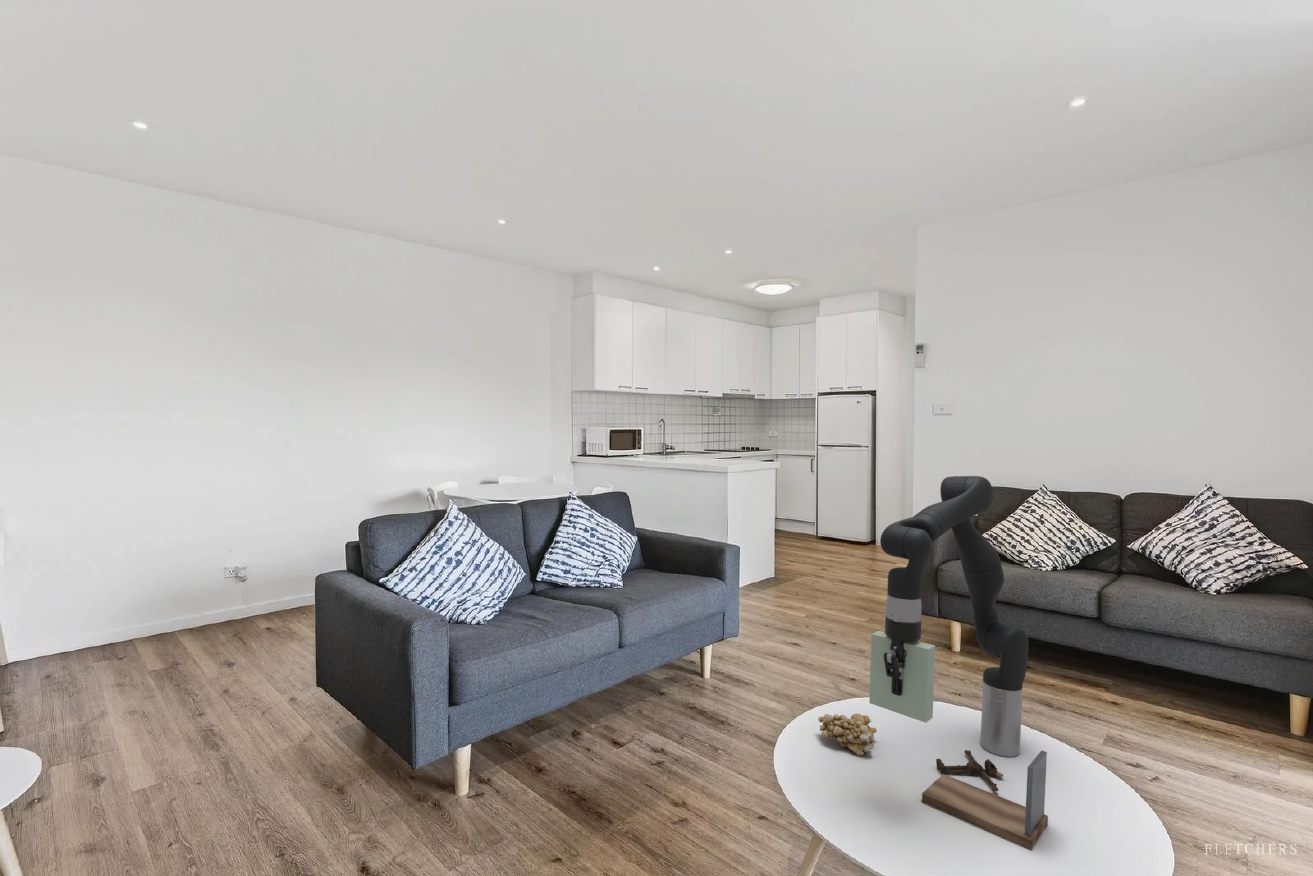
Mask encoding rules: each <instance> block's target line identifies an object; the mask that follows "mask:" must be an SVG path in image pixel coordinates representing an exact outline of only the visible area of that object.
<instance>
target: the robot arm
mask: <svg viewBox="0 0 1313 876" xmlns="http://www.w3.org/2000/svg"><path fill="white" fill-rule="evenodd" d="M939 493H940V499H941V501H939V502H937V503H934V504H931V505H928V506H927V507H925V508H923V509H921V510H920V511H919V512H917V513H916V514H915V515H913V516H911V517H907V518H904V519H901V520H898V521H895V522H893V523H891V524H889V525H888V526H886V527H885V529H884V530H883V532H881V533H882V534H881V535H880V538H879V539H880V542H879V543H880V547H881V550H882V551H883V552H884V553H885V554H886V555H888V556H891V557H894V558H895V557H896V558H901V559H905V560H908V562H907V564H906V566H905V567H904V566H903V567H901V566H900V567H899V566H898V567H894V568H891V569H890V570H889V571H888V573H887V593H886V600H885V616H884V625H885V626H884V632H885V634H886V635H887V636H888V637H889V638H890V639H891V640H892V641H891V645H890V652H889V653H884V662H885V668H886V674H887V676H889V677H892V690H891V692H892V693H893V694H895V695H898V696H901V695H902V689H903V672H904V669H905V668H906V657H907V652H908V650H905V649H904V643H905V642H913V641H919V640H920V639H921V638H922V612H923V611H922V610H923V608H922V606H923V605H922V580H923V575H924V572H925V568H926V565H927V563H928V560H929V557H930V555H931V550H932V544H933V542H935V541H936V540H937V539H939V538H940V537H941V536H942V535H944V534H945V533H946V532H947V531H949V530H950V529H951V531H952V533H953V534H952V535H953V536H954V540H955V544H956V547H957V553H958V555H959V559H960V564H961V569H962V572H963V575H964V579H965V583H966V586H967V590H968V594H969V599H970V603H971V608H972V612H973V620H974V628H975V634H976V639H977V644H978V645H979V647H980V649H981V650H982V651H984V652H985V653H987V654H988V655H991V656H992V657H996V658H998V659H1000V663H999V666H994V667H993V666H992V667H987V668H986V669H984V670H983V673H982V695H981V697H982V699H981V718H980V719H981V721H980V739H979V740H980V741H979V742H980V746H981V747H982V748H983V749H984V750H986V751H987V752H989V753H991V754H994V755H997V756H1001V757H1007V758H1008V757H1009V758H1011V757H1012V758H1013V757H1017V756H1019V755H1020V752H1021V751H1020V749H1021V731H1022V730H1021V729H1022V707H1023V687H1024V686H1023V684H1024V680H1025V678H1026V676H1027V675H1026V673H1027V665H1028V658H1029V657H1028V655H1029V637H1028V635H1027V633H1026V631H1025V630H1023V629H1022V628H1021V627H1019V626H1015V625H1012V624H1009V623H1007V622H1004V621H1001V620H1000V618H999V615H998V612H997V607H996V601H997V599H998V596H999V594H1000V592H1001V591H1002V589H1003V587H1004V583H1005V574H1004V570H1003V566H1002V562H1001V558H1000V555H999V553H998V551H997V550H996V549H995V547H994V546H993V545H992V544H991V542H989V541H988V539H986V537H984V535H982V533H980V531H978V529H977V528H976V527H975V525H974V524H973V523H972V521H971V519H970V518H973V517H975V516H977V515H979V514H982V513H984V512H986V511H987V510H989V509H990V507H991V506H992V504H993V499H994V490H993V486H992V484H991V482H990V481H989V479H987V478H986V477H984V476H979V475H964V476H963V475H960V476H959V475H958V476H957V475H956V476H955V475H954V476H947V477H945V478H944V479H943V480H942V481H941V484H940V492H939ZM898 662H900V663H902V665H901V664H898ZM898 668H899V669H900V670H899V669H898ZM890 669H891V670H890Z"/></svg>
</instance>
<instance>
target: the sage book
mask: <svg viewBox="0 0 1313 876" xmlns="http://www.w3.org/2000/svg"><path fill="white" fill-rule="evenodd" d="M870 636H871V638H870V639H871V640H870V641H871V642H870V666H869V667H870V668H869V669H870V673H869V699H868V700H869V704H870V705H874V706H876V707H879V708H882V709H884V710H888V711H891V712H893V713H897V714H900V715H903V716H905V717H908V718H911V719H914V720H917V721H919V722H921V723H928V722H929V721H930V720H932V719H933V717H934V690H935V687H934V686H935V664H936V663H935V662H936V661H935V660H936V659H935V657H936V655H935V654H936V645H935V644H931V643H926V642H923V641H919V640H918V641H913V642H905V643H904V649H905V650H908V652H907V657H906V668H905V669H904V672H903V689H902V695H901V696H898V695H895V694H893V693H892V692H891V690H892V677H889V676H887V674H886V668H885V662H884V653H889V652H890V645H891V641H892V640H891V639H890V638H889V637H888V636H887V635H886V634H885V631H882V630H878V631H875V632H873V633H871V635H870ZM898 664H901V665H902V663H900V662H898ZM898 669H899V668H898ZM890 670H891V669H890ZM899 670H900V669H899Z"/></svg>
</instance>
